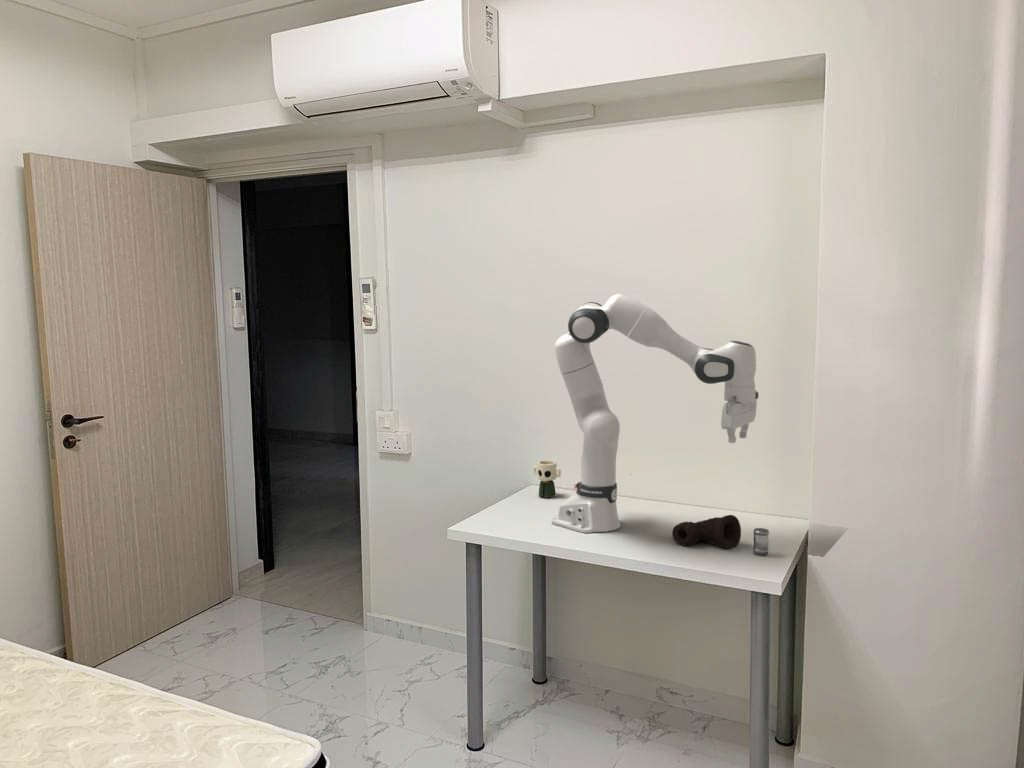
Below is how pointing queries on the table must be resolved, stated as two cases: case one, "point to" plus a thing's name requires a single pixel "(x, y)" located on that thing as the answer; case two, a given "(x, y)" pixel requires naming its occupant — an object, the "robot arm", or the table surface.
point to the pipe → (709, 531)
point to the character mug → (547, 477)
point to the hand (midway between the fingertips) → (737, 440)
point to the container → (760, 542)
